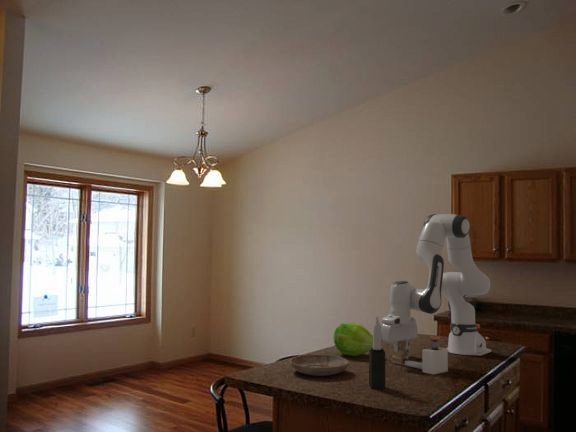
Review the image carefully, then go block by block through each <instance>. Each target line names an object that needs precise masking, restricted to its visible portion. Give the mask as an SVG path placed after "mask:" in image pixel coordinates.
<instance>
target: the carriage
mask: <svg viewBox="0 0 576 432" xmlns="http://www.w3.org/2000/svg"><path fill="white" fill-rule="evenodd" d="M397 346H398V347H399V351H397V352H396V351H394V350H393V351H394V353H393V355H391V363H393V364H396V363H397V365H401V366H403V365H402V364H403V359H405V360H409V355H408V356H406V342H404V341H398V344H397Z"/></svg>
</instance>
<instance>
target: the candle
mask: <svg viewBox="0 0 576 432" xmlns="http://www.w3.org/2000/svg"><path fill="white" fill-rule="evenodd" d="M375 318H376V319H375V321H374V322H375V323H374V324H373V326H372V336H373V348H371V350H369V351H368V352H369V353H368V354H369V356H368V358H369V359H368V367H369V368H368V387H370V388H371V389H372V390H385V389H386V351H385V349H384V348H382V324H381V323H380V321H379V316H376V317H375Z"/></svg>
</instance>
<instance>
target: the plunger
mask: <svg viewBox="0 0 576 432" xmlns="http://www.w3.org/2000/svg"><path fill="white" fill-rule="evenodd" d="M429 340H431V341H430V342H431V343H430V344H431V346H430V348H431V350H439V347H440V346H439V343H440V342H439V341H440V340H441V337H440V336H429Z"/></svg>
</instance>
